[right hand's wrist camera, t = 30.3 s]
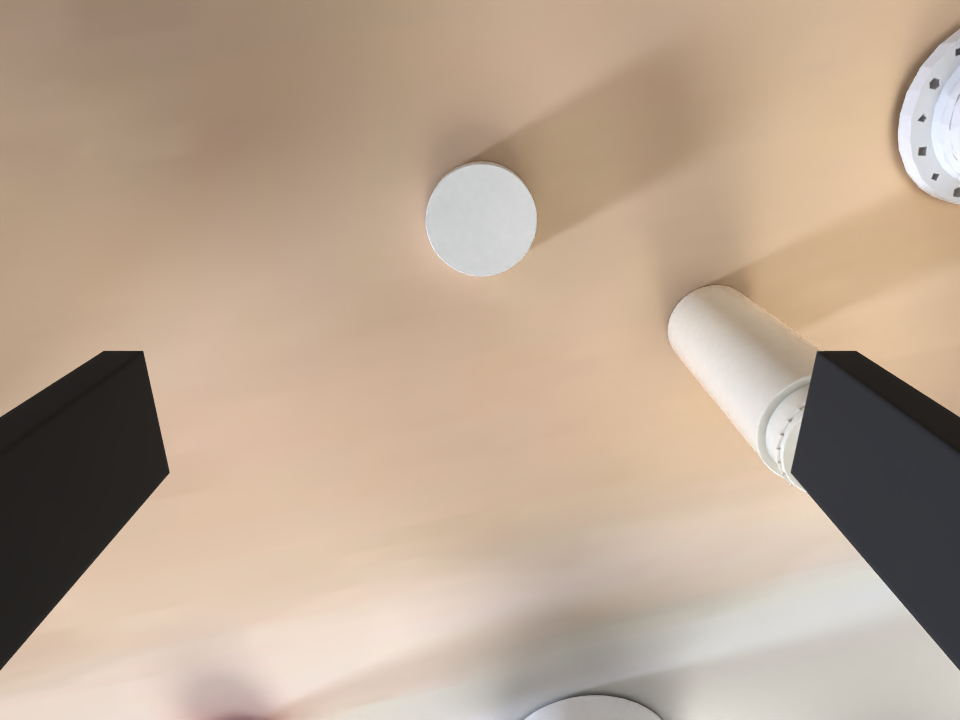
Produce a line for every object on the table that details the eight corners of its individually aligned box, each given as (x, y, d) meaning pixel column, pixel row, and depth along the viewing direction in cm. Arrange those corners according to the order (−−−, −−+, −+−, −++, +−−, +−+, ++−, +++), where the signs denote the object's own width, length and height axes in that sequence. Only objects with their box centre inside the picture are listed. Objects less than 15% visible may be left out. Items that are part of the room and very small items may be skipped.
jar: (723, 266, 38) (868, 361, 24) (769, 329, 39) (934, 453, 25) (650, 322, 39) (747, 443, 25) (698, 381, 41) (816, 526, 27)
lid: (493, 288, 38) (493, 297, 37) (407, 228, 37) (404, 234, 35) (555, 204, 36) (559, 209, 35) (468, 137, 35) (468, 139, 33)
